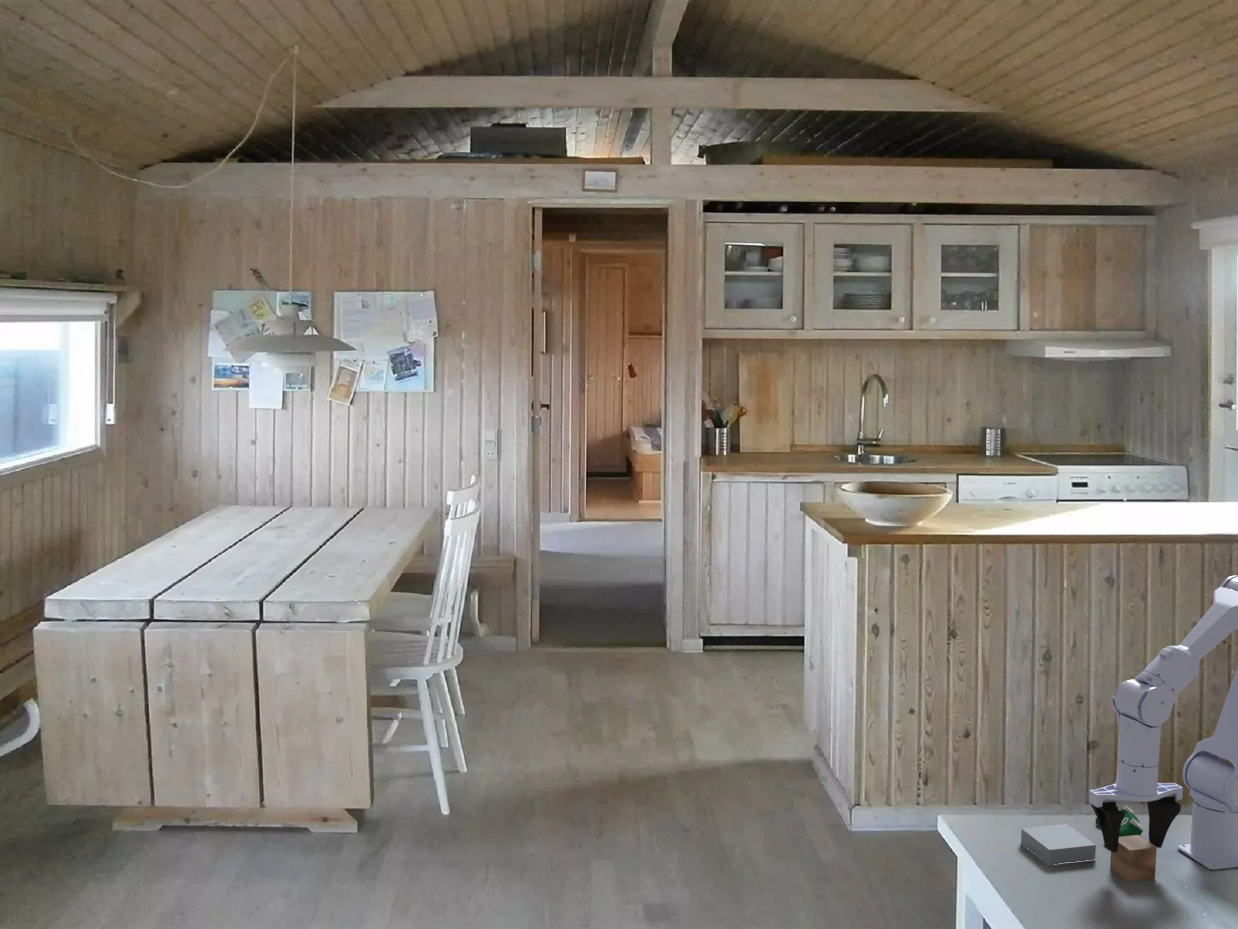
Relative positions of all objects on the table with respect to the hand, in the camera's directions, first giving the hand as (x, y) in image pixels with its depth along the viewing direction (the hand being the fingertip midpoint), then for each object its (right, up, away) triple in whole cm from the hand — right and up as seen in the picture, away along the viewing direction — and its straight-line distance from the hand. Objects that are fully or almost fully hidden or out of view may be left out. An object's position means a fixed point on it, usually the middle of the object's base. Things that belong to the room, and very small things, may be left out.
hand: (1133, 847), depth 182 cm
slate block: (-9, -4, +8) cm, 12 cm away
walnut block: (0, -4, +1) cm, 4 cm away
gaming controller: (+4, -3, +14) cm, 15 cm away
